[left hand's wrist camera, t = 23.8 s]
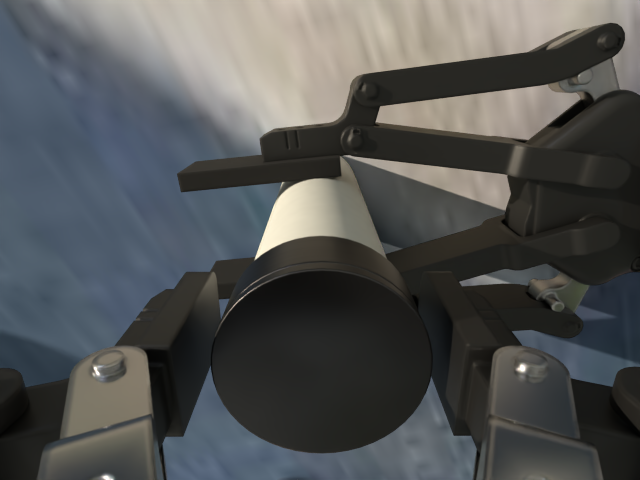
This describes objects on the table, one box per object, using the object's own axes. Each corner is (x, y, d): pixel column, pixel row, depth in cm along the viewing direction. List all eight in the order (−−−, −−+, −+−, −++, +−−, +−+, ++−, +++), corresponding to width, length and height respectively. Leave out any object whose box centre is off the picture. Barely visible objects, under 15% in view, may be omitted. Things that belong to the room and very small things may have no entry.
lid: (193, 336, 11) (168, 387, 9) (301, 195, 10) (297, 222, 8) (336, 422, 12) (340, 483, 10) (452, 305, 11) (479, 352, 9)
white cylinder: (331, 233, 26) (349, 443, 11) (270, 198, 25) (198, 373, 10) (370, 174, 24) (451, 320, 9) (306, 135, 23) (286, 227, 9)
